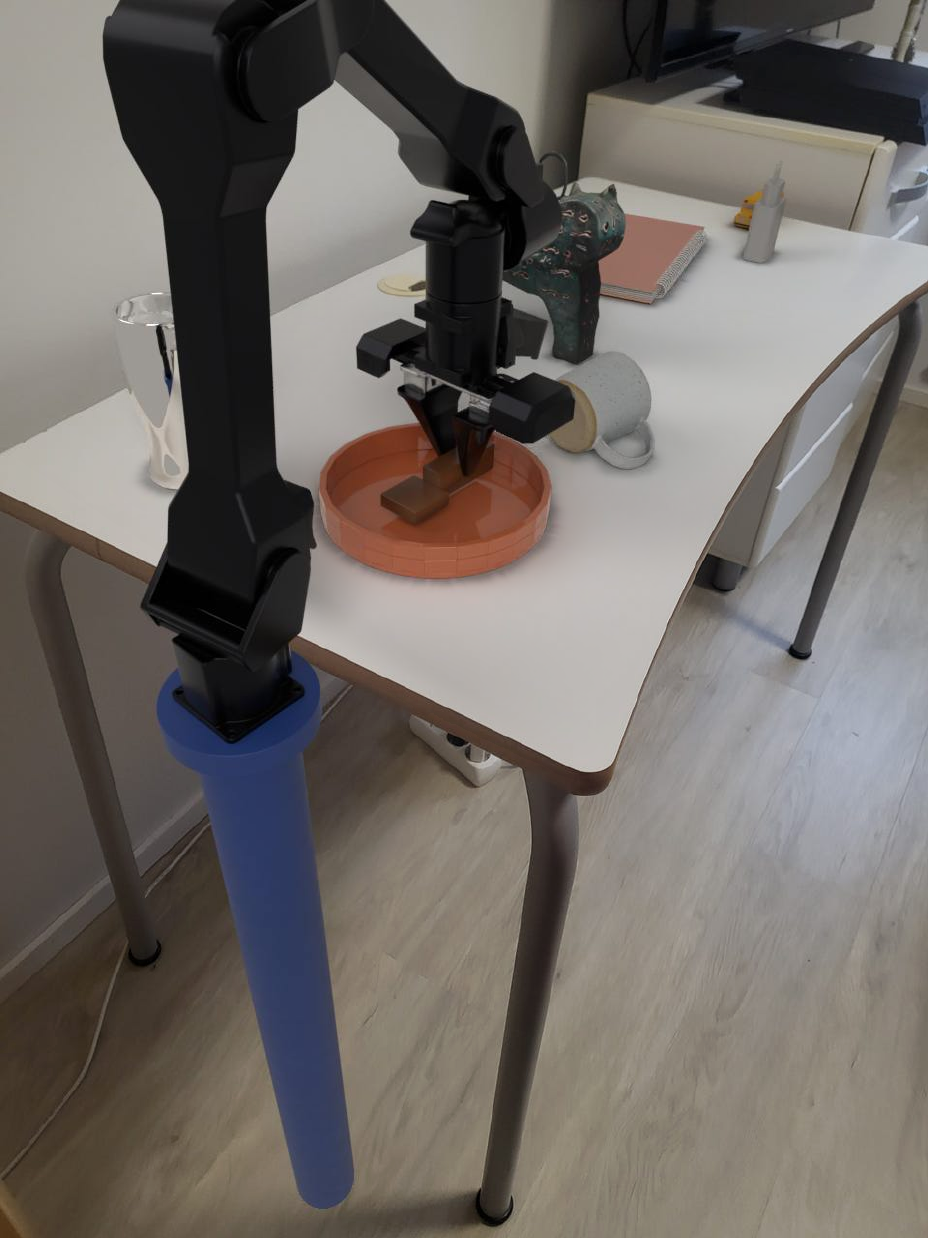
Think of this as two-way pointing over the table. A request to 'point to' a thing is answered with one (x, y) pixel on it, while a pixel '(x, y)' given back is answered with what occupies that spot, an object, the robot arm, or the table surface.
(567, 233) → the ceramic cat
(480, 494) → the bowl
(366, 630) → the table surface
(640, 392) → the ceramic mug
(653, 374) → the table surface
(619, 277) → the notebook
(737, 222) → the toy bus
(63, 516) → the table surface
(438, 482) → the stepped brown block
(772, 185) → the grey nozzle bottle
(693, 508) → the table surface
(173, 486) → the beer glass
